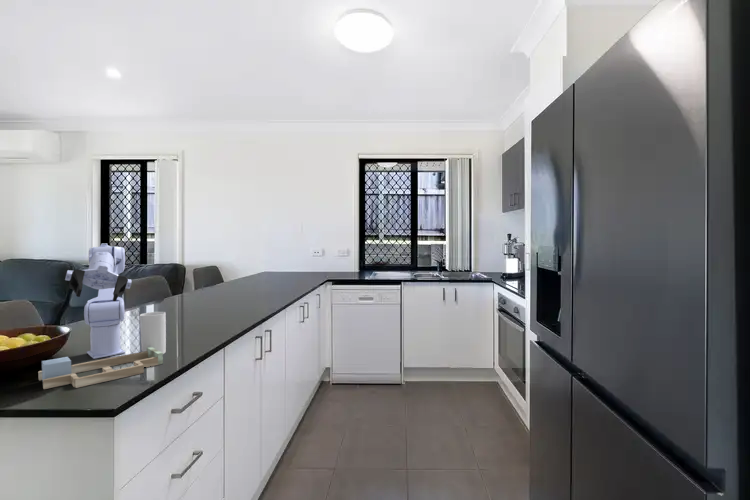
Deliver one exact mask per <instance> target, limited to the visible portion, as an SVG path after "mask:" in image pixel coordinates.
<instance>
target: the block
mask: <svg viewBox="0 0 750 500" xmlns="http://www.w3.org/2000/svg"><path fill="white" fill-rule="evenodd" d="M71 365H72V360H71V359H70V358H69V356H63V357H58V358H57V357H56V358H53V359H47V360H41V371H42V380H41V381H42V383H43V379H48V378H53V377H58V376H63V375H68V374H72V372H71Z"/></svg>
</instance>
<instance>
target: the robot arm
mask: <svg viewBox="0 0 750 500" xmlns="http://www.w3.org/2000/svg"><path fill="white" fill-rule="evenodd" d="M88 262H89V265H88V268H86V269H74V270H71V269H70V270H69V269H68V270H67V271H66V274H65V279H64V280H65V281H68V282H69V283H68V288H69V289H70V290H73V292H74V293H75V295H76V297H77V298H80V297H81V295H82V290H83V285H84V286H86V287H89V288H91V289H94V290H98V291H97V296H96V297H93V298H91V299H89V300H87V302H86V303H85V305H84V309H83V310H84V311H83V317H84V323H85V324H86V325H88V326H89V328H90V332H89V340H90V342H89V343H90V350H87V351H86V354H88V356H89V357H91V359H95V360H96V359H100V358H105V357H110V356H115V355H121V354H122V355H123V354H125V353H126V351H125V350H123V349H122V347H121V346H122V345H121V325H120V324H121V322H123V321H124V320H125V316H126V315H125V312H126V311H125V300H124V299H123V297H122V296H123V295H124V293H125V291H126V289H127V290H130V289H131V286H132V279H129V278H128V277H127V276H125V275H120V274H121V273H124V270H125V267H126V251H125V248H124V247H121V246H114V245H113V246H112V245H108V243H101V244H100V245H99V246H92V247H89V249H88Z"/></svg>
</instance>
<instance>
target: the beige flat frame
mask: <svg viewBox="0 0 750 500" xmlns="http://www.w3.org/2000/svg"><path fill="white" fill-rule="evenodd" d="M163 355H164V354H163V353H162V352H160V351H158V350H156V349H155V348H153V347H147V351H144V352H142V351H140V352H134V353H128V354H122V355H118V356H114V357H107V358H101V359H97V360H96V359H95V360H90V361H87V362H86V361H85V362H81V363H75V364H71V372H72V374H68V375H63V376H58V377H53V378H48V379H43V382H42V388H43V390H47V389H48V390H49V389H51V388H57V387H61V386H66V385H69V384H70V385H71V386H72V387H73V388H76V389H78V388H82V387H86V386H87V387H88V386H91V385H95V384H100V383H104V382H108V381H110V382H111V381H114V380H118V379H123V378H126V377H127V378H128V377H132V376H136V375H141V374H145V373H144V370H145V368H144V367H146V368H149V367H150V366H151V367H154V366H159V365H162V364H164V356H163ZM128 363H129V364H130V363H133V366H127V367H123V368H118V369H113V368H112V367H113V366H118V365H122V364H123V365H124V364H128ZM98 369H101V370H102V371H101V372H99V373H95V374H90V375H84V376H80V377H79V376H78V375H77V374H79V373H83V372H89V371H94V370H98ZM37 373H38V381H42V370H39V371H38V372H37Z"/></svg>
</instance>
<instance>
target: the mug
mask: <svg viewBox="0 0 750 500" xmlns="http://www.w3.org/2000/svg"><path fill="white" fill-rule="evenodd" d="M166 315H167V314H166V311H150V312H145V313H144V312H143V313H141V314H139V326H140V327H139V329H140V342H141V343H140V345H141V352H144V351H147V347H153V348H155V349H156V350H158V351H160V352H162V353H163V355H165V353H166V352H167V351H166V350H167V349H166V348H167V345H166V344H167V339H166V338H167V332H166V331H167V325H166V324H167V320H166V319H167V318H166Z"/></svg>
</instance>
